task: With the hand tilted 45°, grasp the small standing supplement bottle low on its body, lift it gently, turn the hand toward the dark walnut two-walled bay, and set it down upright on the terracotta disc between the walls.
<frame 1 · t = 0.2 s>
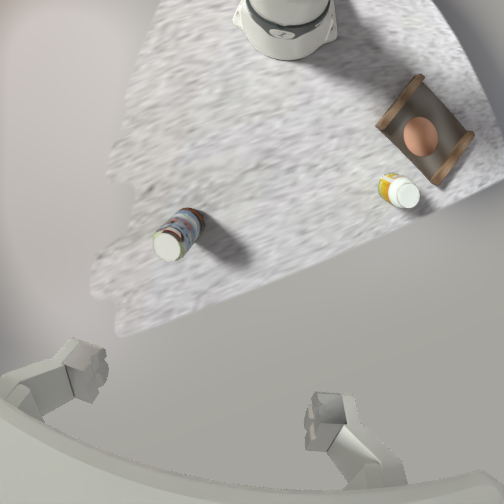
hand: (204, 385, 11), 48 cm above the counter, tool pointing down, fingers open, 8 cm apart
beverage can: (188, 223, 59), on the counter
walled bay: (425, 129, 49), on the counter
supplement bottle: (389, 186, 54), on the counter
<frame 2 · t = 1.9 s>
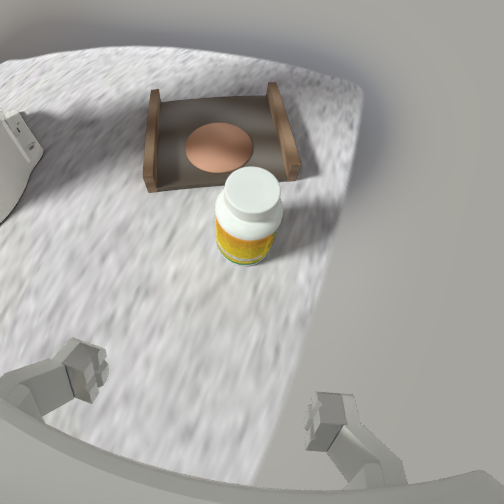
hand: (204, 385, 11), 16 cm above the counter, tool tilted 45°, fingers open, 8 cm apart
walled bay: (217, 137, 35), on the counter
supplement bottle: (243, 242, 31), on the counter
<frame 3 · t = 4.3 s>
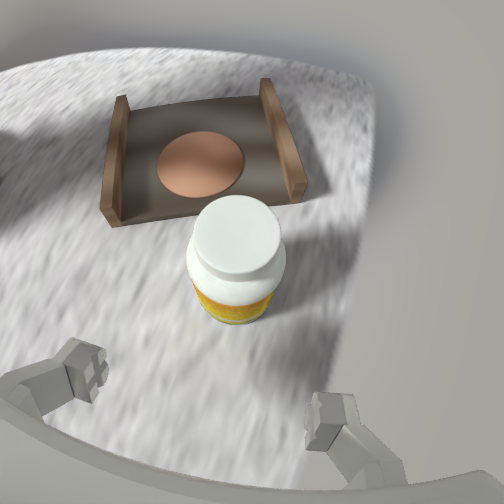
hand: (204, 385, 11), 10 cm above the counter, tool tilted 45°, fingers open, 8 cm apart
walled bay: (198, 150, 28), on the counter
supplement bottle: (234, 292, 23), on the counter
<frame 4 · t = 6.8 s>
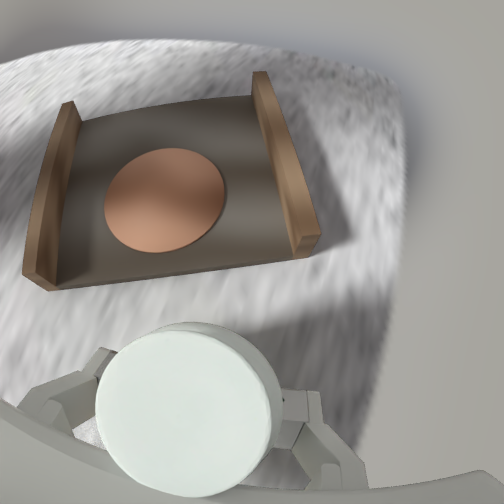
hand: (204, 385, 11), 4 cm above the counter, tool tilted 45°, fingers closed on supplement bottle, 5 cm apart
walled bay: (163, 176, 20), on the counter
supplement bottle: (210, 396, 15), on the counter, touching gripper
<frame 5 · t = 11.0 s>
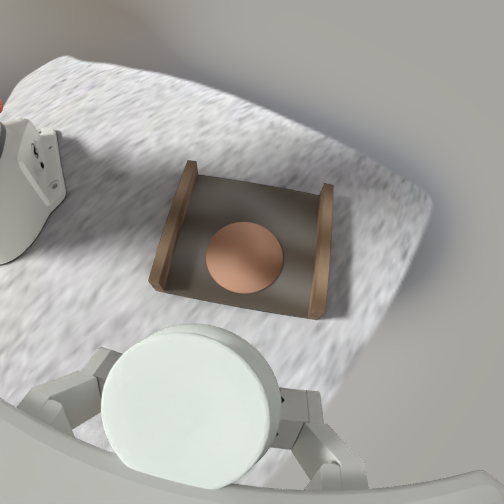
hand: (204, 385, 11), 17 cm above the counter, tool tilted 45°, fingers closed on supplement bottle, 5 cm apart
walled bay: (247, 241, 32), on the counter
supplement bottle: (211, 395, 15), point 12 cm above the counter, touching gripper
when the fingers open (6 cm above the counter, at t = 14.9 s): supplement bottle stays where it is, resting on walled bay.
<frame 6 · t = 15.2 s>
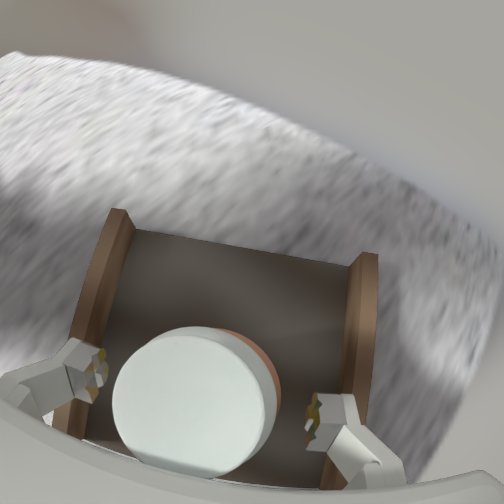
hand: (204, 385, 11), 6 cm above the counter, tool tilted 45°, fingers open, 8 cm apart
walled bay: (218, 361, 17), on the counter
supplement bottle: (211, 394, 16), point 1 cm above the counter, touching walled bay
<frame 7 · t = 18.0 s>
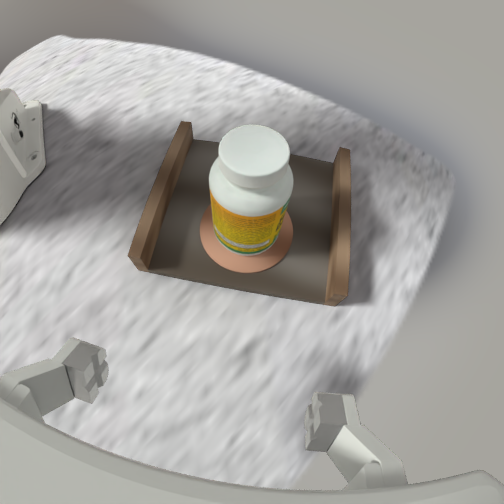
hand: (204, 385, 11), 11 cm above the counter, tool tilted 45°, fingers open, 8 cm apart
walled bay: (250, 212, 27), on the counter
supplement bottle: (246, 228, 26), point 1 cm above the counter, touching walled bay
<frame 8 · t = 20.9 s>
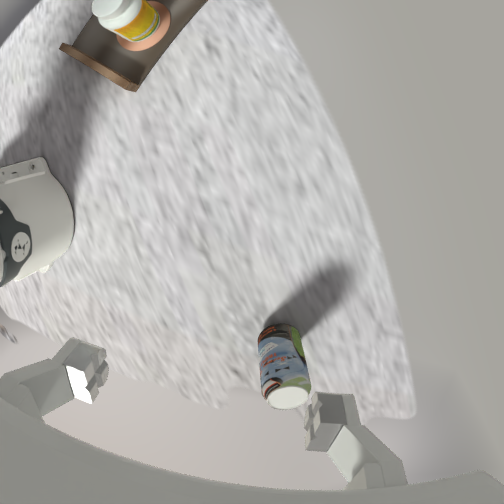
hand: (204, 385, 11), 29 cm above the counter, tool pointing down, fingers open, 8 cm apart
beverage can: (282, 337, 45), on the counter
walled bay: (134, 21, 30), on the counter
supplement bottle: (142, 25, 30), point 1 cm above the counter, touching walled bay
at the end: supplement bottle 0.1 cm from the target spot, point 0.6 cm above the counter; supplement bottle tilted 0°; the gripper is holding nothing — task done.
